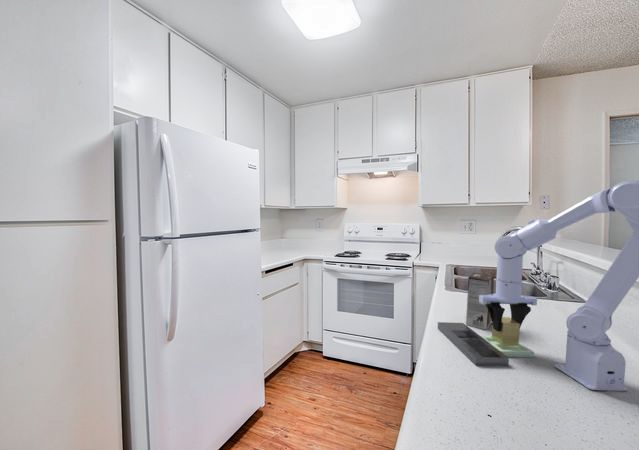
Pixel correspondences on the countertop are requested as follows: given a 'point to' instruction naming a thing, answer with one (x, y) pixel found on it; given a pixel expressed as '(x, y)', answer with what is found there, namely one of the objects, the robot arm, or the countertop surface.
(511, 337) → the brass cube
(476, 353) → the grey flat long piece
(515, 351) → the tray
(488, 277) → the coffee box
